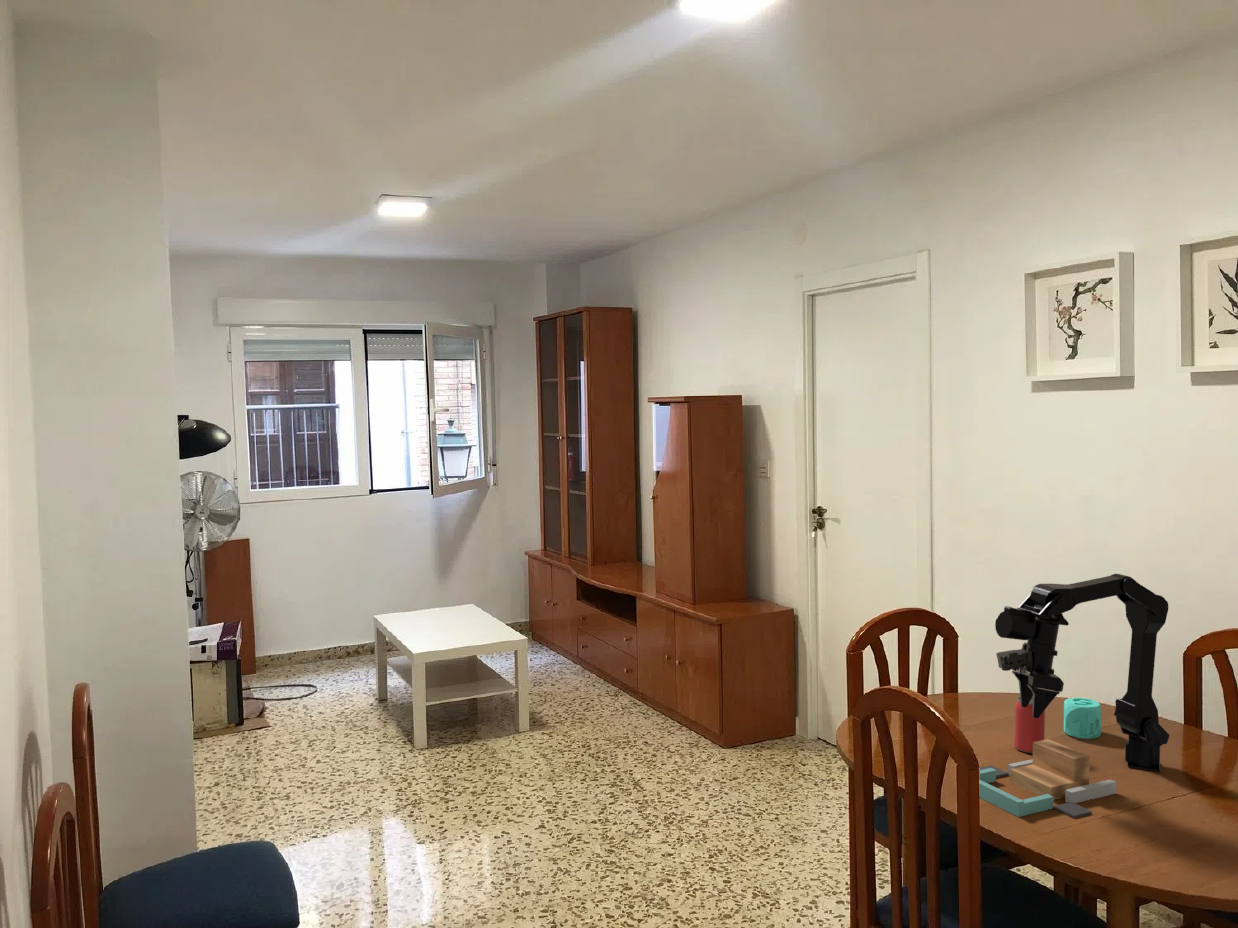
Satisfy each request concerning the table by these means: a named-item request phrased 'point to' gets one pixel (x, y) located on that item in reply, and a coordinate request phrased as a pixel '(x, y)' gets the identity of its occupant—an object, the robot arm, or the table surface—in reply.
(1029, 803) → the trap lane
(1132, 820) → the table surface
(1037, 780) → the step block
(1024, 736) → the beer can
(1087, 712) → the decorative dice
